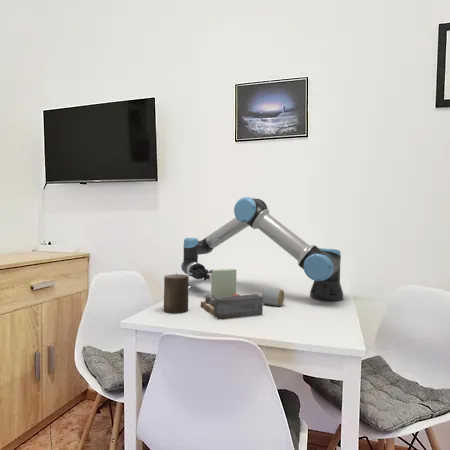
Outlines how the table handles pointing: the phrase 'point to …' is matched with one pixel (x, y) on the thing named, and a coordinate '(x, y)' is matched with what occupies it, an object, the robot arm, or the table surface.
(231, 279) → the sage green upright block
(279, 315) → the table surface
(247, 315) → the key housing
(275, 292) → the grey cylinder
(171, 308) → the pillar candle
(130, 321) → the table surface
